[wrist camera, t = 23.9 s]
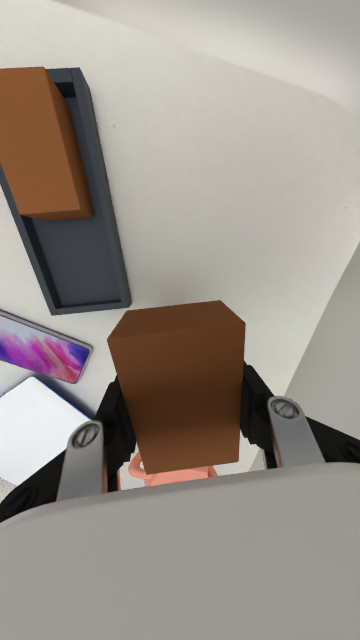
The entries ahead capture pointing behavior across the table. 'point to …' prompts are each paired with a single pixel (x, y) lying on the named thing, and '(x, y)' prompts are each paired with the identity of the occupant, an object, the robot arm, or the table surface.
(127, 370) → the brown brick
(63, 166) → the brown rectangular block
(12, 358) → the smartphone
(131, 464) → the teapot
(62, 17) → the table surface
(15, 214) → the frame
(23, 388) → the plate
